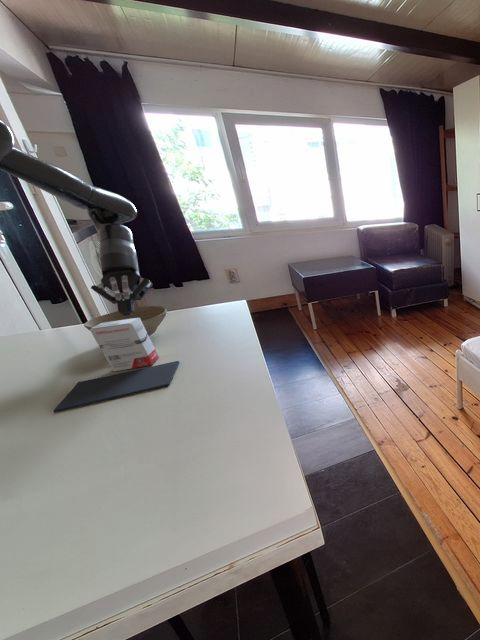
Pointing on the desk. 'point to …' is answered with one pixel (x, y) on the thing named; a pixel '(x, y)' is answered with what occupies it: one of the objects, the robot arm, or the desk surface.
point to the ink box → (125, 344)
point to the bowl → (147, 314)
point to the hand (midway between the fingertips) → (127, 314)
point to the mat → (118, 385)
